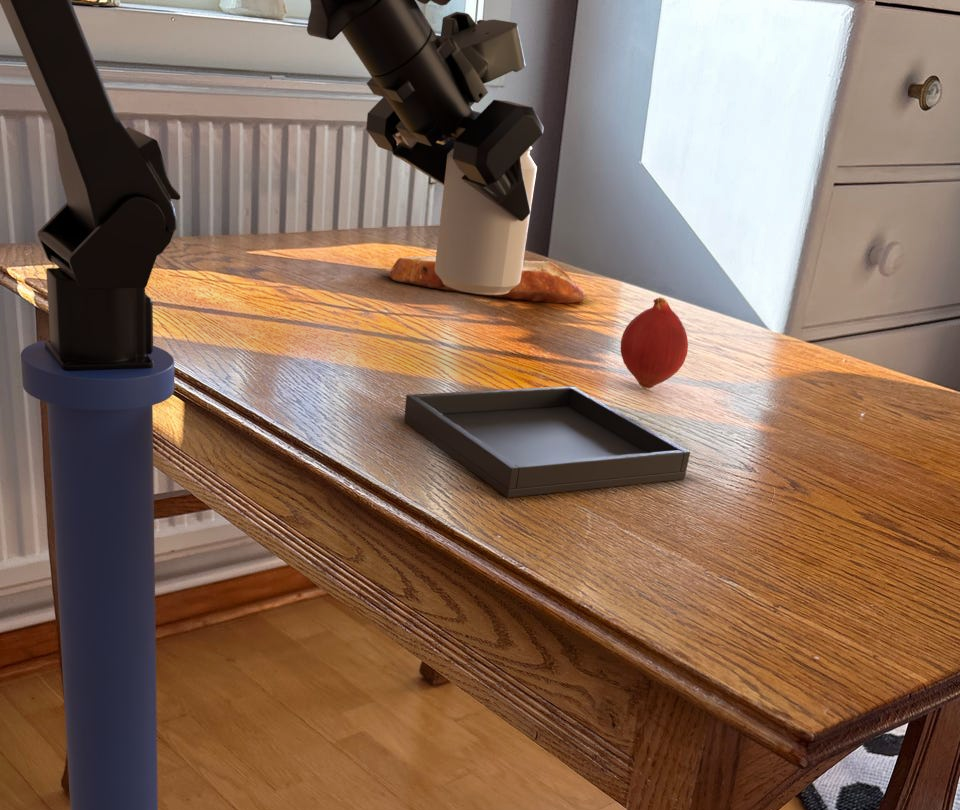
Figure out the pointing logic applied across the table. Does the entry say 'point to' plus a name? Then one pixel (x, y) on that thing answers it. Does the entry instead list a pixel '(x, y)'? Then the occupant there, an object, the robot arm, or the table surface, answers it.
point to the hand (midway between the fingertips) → (500, 207)
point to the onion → (654, 344)
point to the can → (480, 236)
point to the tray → (544, 440)
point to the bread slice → (534, 286)
